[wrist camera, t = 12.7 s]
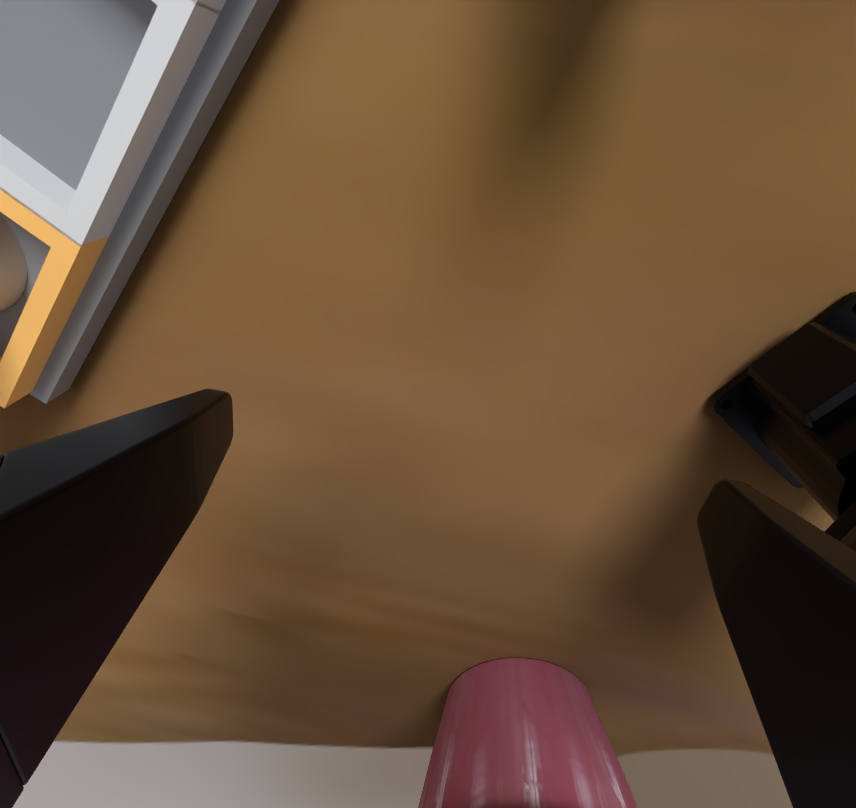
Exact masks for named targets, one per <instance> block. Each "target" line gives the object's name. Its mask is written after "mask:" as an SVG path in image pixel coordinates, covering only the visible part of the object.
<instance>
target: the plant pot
mask: <svg viewBox="0 0 856 808" xmlns="http://www.w3.org/2000/svg"><path fill="white" fill-rule="evenodd" d="M418 808H638V807H637V804H636V802H635V800H634V797H633V795H632V792H631V790H630V787H629V785H628V783H627V780H626V778H625V776H624V773H623V771H622V768H621V766H620V764H619V761H618V759H617V757H616V754H615V752H614V750H613V747H612V745H611V743H610V740H609V738H608V736H607V734H606V732H605V729H604V727H603V725H602V723H601V721H600V718H599V716H598V714H597V712H596V709H595V707H594V704H593V702H592V699H591V697H590V695H589V692H588V691H587V689H586V687H585V686H584V684H583V683H582V682H581V681H580V680H579V679H578V678H577V677H576V676H575V675H573V674H572V673H570V672H569V671H567V670H565V669H563V668H562V667H559V666H557V665H554V664H551V663H548V662H545V661H541V660H535V659H527V658H505V659H498V660H493V661H489V662H485V663H482V664H479V665H477V666H475V667H473V668H471V669H469V670H467V671H466V672H464V673H463V674H461V675H460V676H459V677H458V678H457V679H456V681H455V682H454V683H453V685H452V686H451V688H450V690H449V693H448V696H447V700H446V704H445V707H444V711H443V715H442V719H441V722H440V726H439V729H438V733H437V736H436V740H435V743H434V747H433V752H432V755H431V759H430V763H429V767H428V771H427V775H426V779H425V783H424V787H423V791H422V795H421V799H420V803H419V807H418Z"/></svg>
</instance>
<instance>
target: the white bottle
mask: <svg viewBox="0 0 856 808" xmlns="http://www.w3.org/2000/svg"><path fill="white" fill-rule="evenodd" d="M26 282H27V265H26V259H25V256H24V252H23V249H22V247H21V244H20V242H19V240H18V238H17V236H16V234H15V233H14V231H13V230H12V228H11V226H10V225H9V224H8V222H7V221H6V220H5V218H4V217H3V216H2V215H1V214H0V311H3V310H5V309H7V308H9V307H11V306H12V305H14V304H15V303H16V302H17V301H18V300H19V299H20V297H21V296H22V294H23V292H24V289H25V286H26Z"/></svg>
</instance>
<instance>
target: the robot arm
mask: <svg viewBox="0 0 856 808" xmlns="http://www.w3.org/2000/svg"><path fill="white" fill-rule="evenodd" d="M855 304H856V292H852V293H849V294H848V295H846V296H844V297H843V298H842V299H840V300H839V301H838V302H836V303H835V304H834V305H832V306H831V307H830V308H828V309H827V310H826V311H824V312H823V313H822V314H820V315H819V316H818V317H816V318H815V319H814V320H812V321H811V322H810V323H808V324H806V325H804V326H803V327H802V328H800V329H799V330H798V331H796V332H795V333H794V334H792V335H791V336H790V337H788V338H787V339H786V340H784V341H783V342H782V343H780V344H779V345H778V346H776V347H775V348H774V349H772V350H771V351H770V352H768V353H767V354H766V355H764V356H763V357H762V358H760V359H759V360H758V361H756V362H755V363H754V364H752V365H751V366H750V367H749V368H748V369H747V370H745V371H744V372H743V373H741V374H740V375H739V376H737V377H736V378H735V379H733V380H732V381H731V382H729V383H728V384H727V385H725V386H724V387H723V388H721V389H720V390H719V391H717V392H716V393H715V394H714V395H713V396H712V398H711V400H710V404H711V406H712V408H713V409H714V410H715V411H716V412H717V413H718V414H719V415H720V416H721V417H722V418H723V419H724V420H725V421H726V422H727V423H728V424H729V425H730V426H731V427H732V428H733V429H734V430H735V431H736V432H737V433H738V434H739V435H741V436H742V437H743V438H744V439H745V440H746V441H747V442H748V443H749V444H750V445H751V446H752V447H753V448H754V449H755V450H756V451H757V452H758V453H759V454H760V455H761V456H762V457H763V458H764V459H766V460H767V461H768V462H769V463H770V464H771V465H772V466H773V467H774V468H775V469H776V470H777V471H778V472H779V473H780V474H781V475H782V476H783V477H784V478H785V479H786V480H787V481H788V482H789V483H790V484H792V485H793V486H794V487H799V488H801V487H804V488H805V489H806V490H807V492H808V493H809V494H810V495H811V496H812V497H813V498H814V499H815V500H816V501H817V502H818V504H819V505H820V506H821V507H822V508H823V509H824V510H825V511H826V512H827V513H828V514H829V516H830V517H831V518H832V519H833V520H834V522H833V523H832V524H831V525H830V527H829V528H828V529H827V530H826V531H825V532H824V531H822V530H820V529H819V528H817V527H815V526H814V525H812V524H811V523H809V522H807V521H806V520H804V519H802V518H801V517H799V516H798V515H796V514H794V513H793V512H791V511H789V510H788V509H786V508H785V507H783V506H781V505H780V504H778V503H776V502H775V501H773V500H772V499H770V498H768V497H767V496H765V495H763V494H762V493H760V492H759V491H757V490H755V489H754V488H752V487H750V486H749V485H747V484H745V483H742V482H738V481H732V480H726V479H722V480H719V481H717V482H716V483H715V485H714V486H713V488H712V490H711V492H710V493H709V495H708V497H707V499H706V501H705V502H704V504H703V506H702V508H701V510H700V512H699V514H698V519H697V524H698V529H699V533H700V537H701V541H702V545H703V549H704V553H705V557H706V561H707V565H708V569H709V573H710V577H711V581H712V585H713V589H714V592H715V596H716V599H717V602H718V605H719V608H720V611H721V614H722V617H723V619H724V622H725V625H726V627H727V630H728V633H729V636H730V638H731V641H732V644H733V646H734V649H735V652H736V654H737V657H738V660H739V663H740V665H741V668H742V671H743V673H744V676H745V679H746V682H747V684H748V687H749V690H750V692H751V695H752V698H753V700H754V703H755V706H756V709H757V711H758V714H759V717H760V719H761V722H762V725H763V728H764V730H765V733H766V736H767V738H768V741H769V744H770V746H771V749H772V752H773V755H774V757H775V760H776V763H777V765H778V768H779V771H780V773H781V776H782V779H783V781H784V784H785V787H786V790H787V792H788V795H789V798H790V801H791V803H792V806H793V808H856V309H855V310H853V311H852V308H853V306H854V305H855ZM726 399H729V402H728V403H727V404H725V405H721V403H722V402H723V401H724V400H726ZM232 437H233V409H232V398H231V395H230V394H229V393H228V392H225V391H219V390H213V389H204V390H201V391H198V392H195V393H192V394H188V395H185V396H182V397H179V398H176V399H173V400H170V401H166V402H163V403H160V404H157V405H154V406H151V407H148V408H145V409H141V410H138V411H135V412H132V413H129V414H126V415H123V416H120V417H116V418H113V419H110V420H107V421H104V422H101V423H98V424H94V425H91V426H88V427H85V428H82V429H79V430H76V431H73V432H69V433H66V434H63V435H60V436H57V437H54V438H51V439H47V440H44V441H41V442H38V443H35V444H32V445H29V446H26V447H22V448H19V449H16V450H13V451H10V452H7V453H6V454H5V456H3V455H0V808H12V807H13V805H14V804H15V802H16V800H17V799H18V797H19V796H20V794H21V792H22V791H23V788H24V787H23V785H25V784H26V783H27V782H28V781H29V779H30V778H31V776H32V774H33V773H34V771H35V770H36V768H37V767H38V765H39V763H40V761H41V760H42V759H43V757H44V755H45V754H46V752H47V751H48V749H49V748H50V746H51V744H52V743H53V741H54V740H55V738H56V736H57V735H58V733H59V732H60V730H61V729H62V727H63V725H64V724H65V722H66V721H67V719H68V717H69V716H70V714H71V713H72V711H73V710H74V708H75V706H76V705H77V703H78V702H79V700H80V698H81V697H82V695H83V694H84V692H85V691H86V689H87V687H88V686H89V684H90V683H91V681H92V679H93V678H94V676H95V675H96V673H97V672H98V670H99V668H100V667H101V665H102V664H103V662H104V660H105V659H106V657H107V656H108V654H109V653H110V651H111V649H112V648H113V646H114V645H115V643H116V641H117V640H118V638H119V637H120V635H121V634H122V632H123V630H124V629H125V627H126V626H127V624H128V622H129V621H130V619H131V618H132V616H133V615H134V613H135V611H136V610H137V608H138V607H139V605H140V603H141V602H142V600H143V599H144V597H145V596H146V594H147V592H148V591H149V589H150V588H151V586H152V584H153V583H154V581H155V580H156V578H157V576H158V575H159V573H160V572H161V570H162V569H163V567H164V565H165V564H166V562H167V561H168V559H169V557H170V556H171V554H172V553H173V551H174V550H175V548H176V546H177V545H178V543H179V542H180V540H181V538H182V537H183V535H184V534H185V532H186V531H187V529H188V527H189V526H190V524H191V523H192V521H193V519H194V518H195V516H196V514H197V513H198V511H199V509H200V507H201V505H202V503H203V501H204V499H205V497H206V495H207V493H208V491H209V489H210V486H211V484H212V482H213V480H214V478H215V476H216V474H217V472H218V469H219V467H220V465H221V463H222V461H223V459H224V457H225V455H226V453H227V450H228V448H229V446H230V444H231V441H232Z"/></svg>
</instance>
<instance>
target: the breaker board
mask: <svg viewBox="0 0 856 808" xmlns="http://www.w3.org/2000/svg"><path fill="white" fill-rule="evenodd" d="M279 1H280V0H0V214H1V215H2V216H3V217H4V218H5V220H6V221H7V222H8V224H9V225H10V226H11V228H12V230H13V231H14V233H15V234H16V236H17V238H18V240H19V242H20V244H21V247H22V249H23V252H24V256H25V259H26V265H27V282H26V286H25V289H24V292H23V294H22V296H21V297H20V299H19V300H18V301H17V302H16V303H15V304H14V305H12V306H11V307H9V308H7V309H5V310H3V311H0V406H1V407H2V408H6V407H8V406H9V405H11V404H13V403H14V402H16V401H17V400H19V399H21V398H22V397H24V396H26V395H27V394H30V395H32V396H33V397H35V398H37V399H38V400H40V401H42V402H43V403H45V404H47V403H49V402H50V401H52V400H53V399H55V398H56V397H58V396H59V395H61V394H62V393H64V392H65V391H67V390H68V389H70V387H71V385H72V383H73V381H74V379H75V378H76V376H77V374H78V372H79V370H80V368H81V366H82V365H83V363H84V361H85V359H86V357H87V355H88V354H89V352H90V350H91V348H92V346H93V344H94V342H95V341H96V339H97V337H98V335H99V333H100V331H101V329H102V328H103V326H104V324H105V322H106V320H107V318H108V317H109V315H110V313H111V311H112V309H113V307H114V305H115V304H116V302H117V300H118V298H119V296H120V294H121V293H122V291H123V289H124V287H125V285H126V283H127V281H128V280H129V278H130V276H131V274H132V272H133V270H134V268H135V267H136V265H137V263H138V261H139V259H140V257H141V256H142V254H143V252H144V250H145V248H146V246H147V244H148V243H149V241H150V239H151V237H152V235H153V233H154V232H155V230H156V228H157V226H158V224H159V222H160V220H161V219H162V217H163V215H164V213H165V211H166V209H167V208H168V206H169V204H170V202H171V200H172V198H173V196H174V195H175V193H176V191H177V189H178V187H179V185H180V183H181V182H182V180H183V178H184V176H185V174H186V172H187V171H188V169H189V167H190V165H191V163H192V161H193V159H194V158H195V156H196V154H197V152H198V150H199V148H200V147H201V145H202V143H203V141H204V139H205V137H206V135H207V134H208V132H209V130H210V128H211V126H212V124H213V122H214V121H215V119H216V117H217V115H218V113H219V111H220V110H221V108H222V106H223V104H224V102H225V100H226V98H227V97H228V95H229V93H230V91H231V89H232V87H233V86H234V84H235V82H236V80H237V78H238V76H239V74H240V73H241V71H242V69H243V67H244V65H245V63H246V62H247V60H248V58H249V56H250V54H251V52H252V50H253V49H254V47H255V45H256V43H257V41H258V39H259V37H260V36H261V34H262V32H263V30H264V28H265V26H266V25H267V23H268V21H269V19H270V17H271V15H272V13H273V12H274V10H275V8H276V6H277V4H278V2H279Z"/></svg>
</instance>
